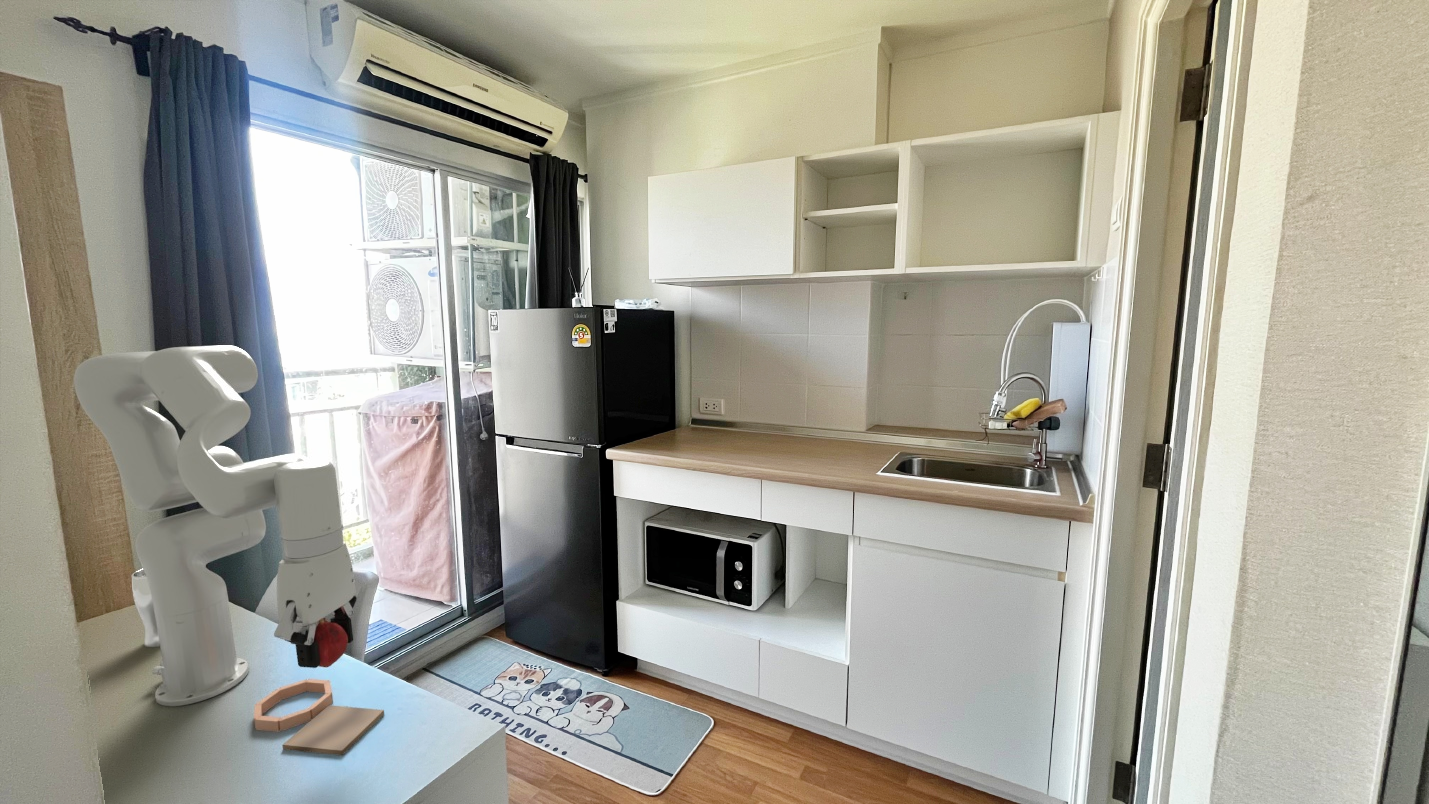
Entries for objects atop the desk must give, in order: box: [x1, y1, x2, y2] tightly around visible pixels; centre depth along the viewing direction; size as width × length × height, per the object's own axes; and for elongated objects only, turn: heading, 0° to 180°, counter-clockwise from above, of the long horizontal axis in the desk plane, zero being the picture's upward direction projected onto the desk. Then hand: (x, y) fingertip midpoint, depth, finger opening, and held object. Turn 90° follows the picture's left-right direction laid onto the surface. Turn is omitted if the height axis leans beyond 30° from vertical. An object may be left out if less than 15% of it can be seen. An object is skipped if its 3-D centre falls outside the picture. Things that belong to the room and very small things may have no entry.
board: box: [281, 704, 385, 756], centre depth 91 cm, size 10×9×1 cm
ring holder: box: [253, 678, 334, 733], centre depth 96 cm, size 10×10×2 cm
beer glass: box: [131, 568, 160, 648], centre depth 116 cm, size 7×7×15 cm
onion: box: [313, 617, 349, 668], centre depth 88 cm, size 6×6×8 cm
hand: (326, 652), depth 89 cm, fingers closed on onion, 5 cm apart
